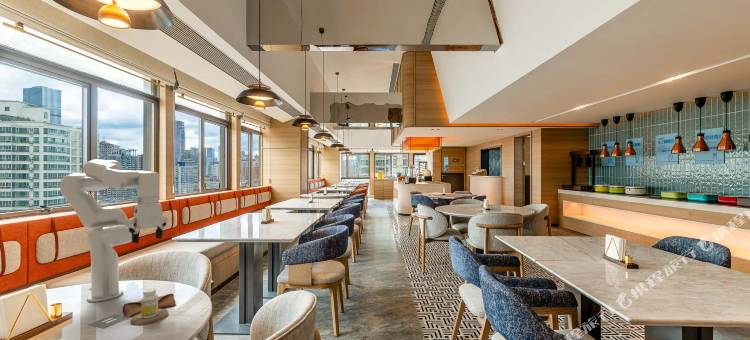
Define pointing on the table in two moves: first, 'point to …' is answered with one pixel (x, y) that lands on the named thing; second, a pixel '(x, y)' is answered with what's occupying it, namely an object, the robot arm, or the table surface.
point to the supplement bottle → (149, 303)
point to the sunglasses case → (135, 307)
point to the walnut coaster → (142, 321)
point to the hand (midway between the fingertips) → (147, 240)
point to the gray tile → (108, 320)
